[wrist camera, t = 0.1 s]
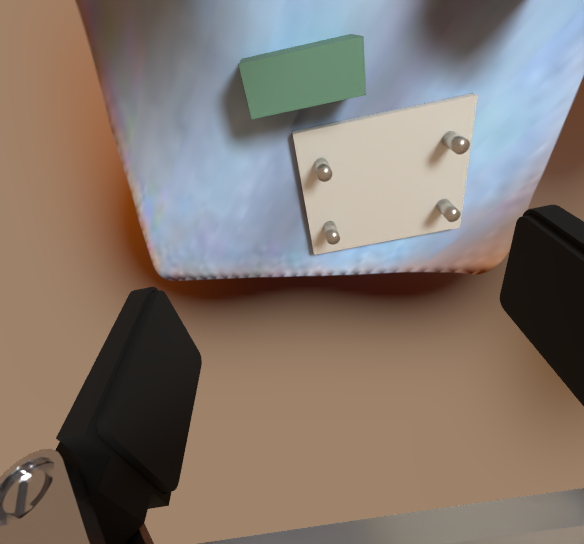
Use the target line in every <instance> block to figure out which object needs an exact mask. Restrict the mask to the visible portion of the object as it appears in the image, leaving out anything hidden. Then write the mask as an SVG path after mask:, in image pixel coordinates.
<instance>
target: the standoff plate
mask: <svg viewBox="0 0 584 544" xmlns="http://www.w3.org/2000/svg"><path fill="white" fill-rule="evenodd" d="M477 97H478V95H477V94H474V93H471V94H466V95H461V96H456V97H452V98H447V99H442V100H438V101H433V102H428V103H424V104H419V105H414V106H409V107H405V108H400V109H395V110H391V111H386V112H381V113H377V114H372V115H367V116H362V117H358V118H353V119H348V120H344V121H339V122H334V123H330V124H325V125H320V126H315V127H311V128H306V129H301V130H297V131H292V133H293V139H294V145H295V150H296V156H297V162H298V167H299V173H300V178H301V184H302V190H303V195H304V201H305V207H306V212H307V218H308V223H309V229H310V235H311V240H312V246H313V251H314V255H316V254H321V253H327V252H332V251H337V250H343V249H348V248H353V247H359V246H364V245H369V244H375V243H380V242H385V241H390V240H396V239H401V238H406V237H412V236H417V235H422V234H428V233H433V232H438V231H444V230H449V229H454V228H460V223H461V215H462V208H463V200H464V193H465V186H466V178H467V171H468V163H469V156H470V149H471V141H472V134H473V126H474V119H475V112H476V104H477Z"/></svg>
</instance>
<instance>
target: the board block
mask: <svg viewBox="0 0 584 544" xmlns="http://www.w3.org/2000/svg"><path fill="white" fill-rule="evenodd" d="M238 65H239V69H240V73H241V77H242V81H243V86H244V90H245V94H246V98H247V102H248V106H249V111H250V115H251V119H256V118H261V117H265V116H270V115H275V114H279V113H284V112H289V111H293V110H298V109H303V108H307V107H312V106H317V105H321V104H326V103H331V102H335V101H340V100H345V99H349V98H354V97H359V96H363V95H366V83H365V60H364V38H363V36H360V35H354V34H349V35H345V36H340V37H336V38H331V39H327V40H323V41H318V42H314V43H309V44H305V45H300V46H296V47H292V48H287V49H283V50H278V51H274V52H270V53H265V54H261V55H256V56H252V57H247V58H243V59H242V60H241V61H240V63H239V64H238Z"/></svg>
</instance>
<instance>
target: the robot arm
mask: <svg viewBox="0 0 584 544" xmlns="http://www.w3.org/2000/svg"><path fill="white" fill-rule="evenodd" d="M500 302H501V305H502V307H503V309H504V310H505V311H506V313H507V314H508V315H509V316H510V317H511V319H512V320H513V321H514V322H515V324H516V325H517V326H518V327H519V328H520V330H521V331H522V332H523V333H524V335H525V336H526V337H527V338H528V339H529V341H530V342H531V343H532V344H533V345H534V347H535V348H536V349H537V350H538V351H539V353H540V354H541V355H542V356H543V358H544V359H545V360H546V361H547V362H548V364H549V365H550V366H551V367H552V368H553V370H554V371H555V372H556V373H557V375H558V376H559V377H560V378H561V379H562V381H563V382H564V383H565V384H566V385H567V387H568V388H569V389H570V390H571V391H572V393H573V394H574V395H575V396H576V398H577V399H578V400H579V401H580V402H581V404H582V405H583V406H584V222H583V221H582V220H580V219H579V218H577V217H575V216H574V215H572V214H570V213H569V212H567V211H565V210H564V209H562V208H561V207H559V206H557V205H548V206H543V207H538V208H533V209H529V210H527V211H525V213H524V214H523V216H522V217H520V218H519V219H518V220H517V222H516V226H515V231H514V235H513V240H512V244H511V249H510V253H509V258H508V262H507V267H506V271H505V275H504V280H503V284H502V289H501V293H500ZM201 363H202V362H201V355H200V352H199V351H198V349H197V347H196V345H195V344H194V342H193V340H192V339H191V337H190V335H189V333H188V332H187V330H186V328H185V326H184V325H183V323H182V321H181V319H180V318H179V316H178V314H177V313H176V311H175V309H174V307H173V306H172V304H171V302H170V300H169V299H168V297H167V295H166V294H165V292H164V291H158V290H157V288H155V287H149V288H144V289H139V290H134V291H132V292H131V293H130V294H129V296H128V298H127V300H126V302H125V304H124V306H123V308H122V310H121V312H120V314H119V316H118V318H117V320H116V322H115V324H114V326H113V327H112V329H111V331H110V333H109V335H108V337H107V339H106V341H105V343H104V345H103V347H102V349H101V351H100V353H99V355H98V357H97V359H96V361H95V363H94V365H93V367H92V369H91V371H90V373H89V375H88V377H87V378H86V380H85V382H84V384H83V386H82V388H81V390H80V392H79V394H78V396H77V398H76V400H75V402H74V404H73V406H72V408H71V410H70V412H69V414H68V416H67V418H66V420H65V422H64V424H63V426H62V428H61V430H60V432H59V433H58V436H57V437H56V439H58V440H59V441H60V443H59V445H58V446H57V448H56V450H52V449H45V450H39V451H36V452H34V453H31V454H29V455H27V456H26V457H24V458H22V459H21V460H19V461H18V462H16V463H15V464H14V465H13V466H11V467H10V468H9V469H8V470H7V471H6V472H5V473H4V474H3V475H2V476H1V477H0V544H154V543H153V541H152V539H151V536H150V534H149V532H148V530H147V528H146V526H145V524H144V521H145V517H146V513H147V509H150V508H155V507H163V506H169V501H170V496H171V491H174V490H175V489H176V488H177V486H178V482H179V478H180V473H181V468H182V463H183V457H184V452H185V447H186V442H187V437H188V432H189V427H190V421H191V416H192V411H193V406H194V401H195V395H196V390H197V385H198V380H199V375H200V369H201ZM200 544H584V488H583V489H575V490H569V491H561V492H553V493H546V494H539V495H532V496H525V497H517V498H510V499H503V500H496V501H489V502H482V503H475V504H468V505H461V506H454V507H447V508H440V509H433V510H426V511H419V512H411V513H405V514H398V515H391V516H384V517H377V518H370V519H363V520H357V521H349V522H342V523H335V524H328V525H321V526H315V527H308V528H301V529H294V530H288V531H281V532H274V533H267V534H261V535H254V536H247V537H241V538H233V539H227V540H220V541H214V542H206V543H200Z"/></svg>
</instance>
